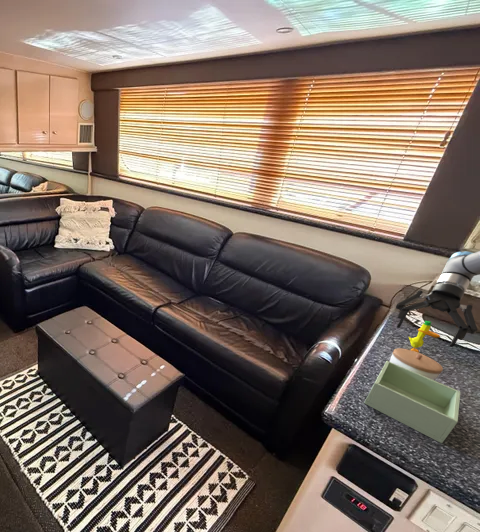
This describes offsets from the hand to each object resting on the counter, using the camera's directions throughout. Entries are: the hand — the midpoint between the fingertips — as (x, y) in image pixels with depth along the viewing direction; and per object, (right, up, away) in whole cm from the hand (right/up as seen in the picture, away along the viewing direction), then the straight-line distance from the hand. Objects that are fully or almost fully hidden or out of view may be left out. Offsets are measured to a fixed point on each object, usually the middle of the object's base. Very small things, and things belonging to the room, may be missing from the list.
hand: (424, 335), depth 112 cm
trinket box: (-21, -11, -14) cm, 28 cm away
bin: (-34, -14, -26) cm, 45 cm away
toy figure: (-1, -6, +2) cm, 7 cm away
